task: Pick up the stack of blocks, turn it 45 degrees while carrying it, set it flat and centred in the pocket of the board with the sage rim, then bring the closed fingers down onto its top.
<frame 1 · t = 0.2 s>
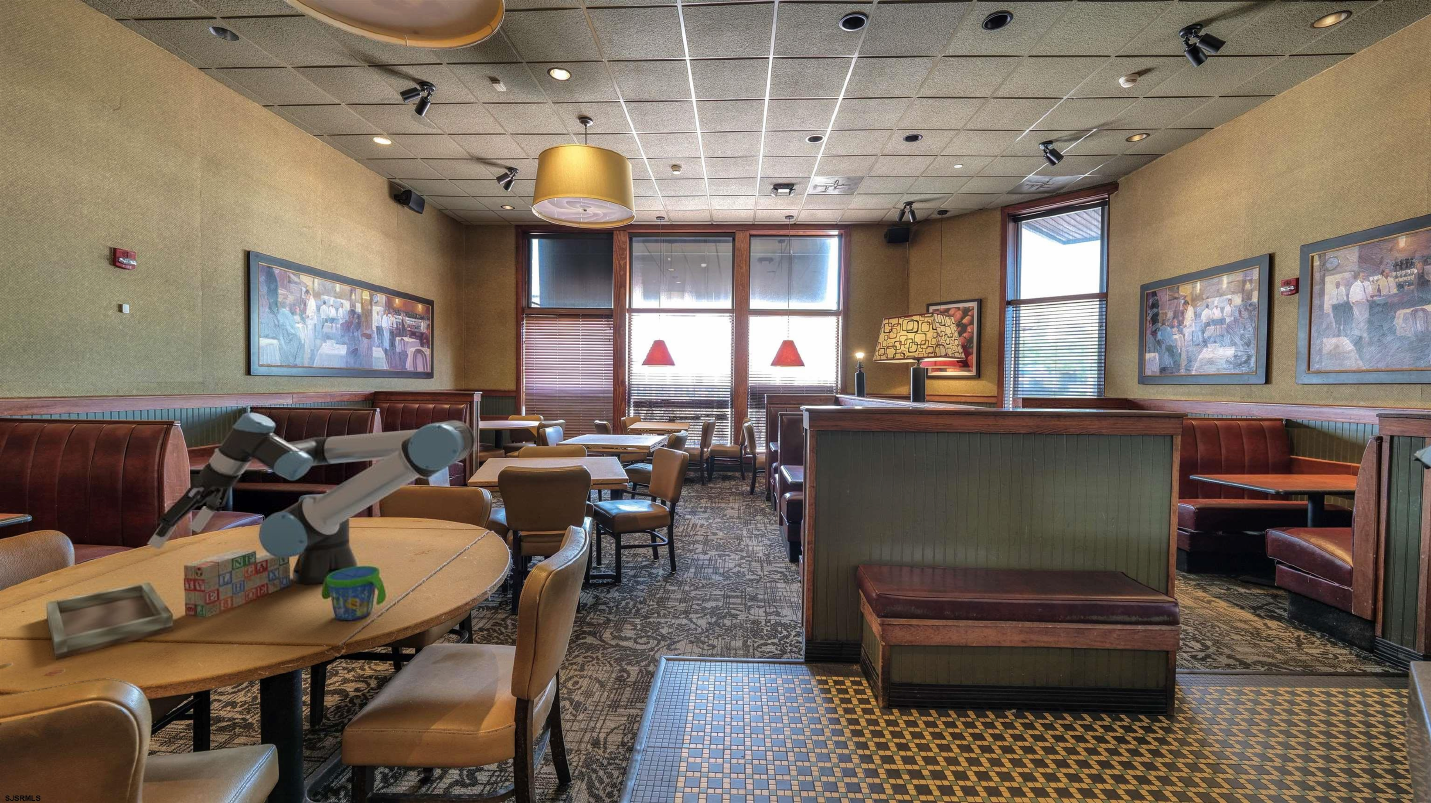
hand: (175, 537, 145), 15 cm above the table, tool tilted 35°, fingers open, 13 cm apart
stack of blocks: (241, 600, 144), on the table
snack cup: (354, 616, 135), on the table
pocket board: (108, 624, 129), on the table
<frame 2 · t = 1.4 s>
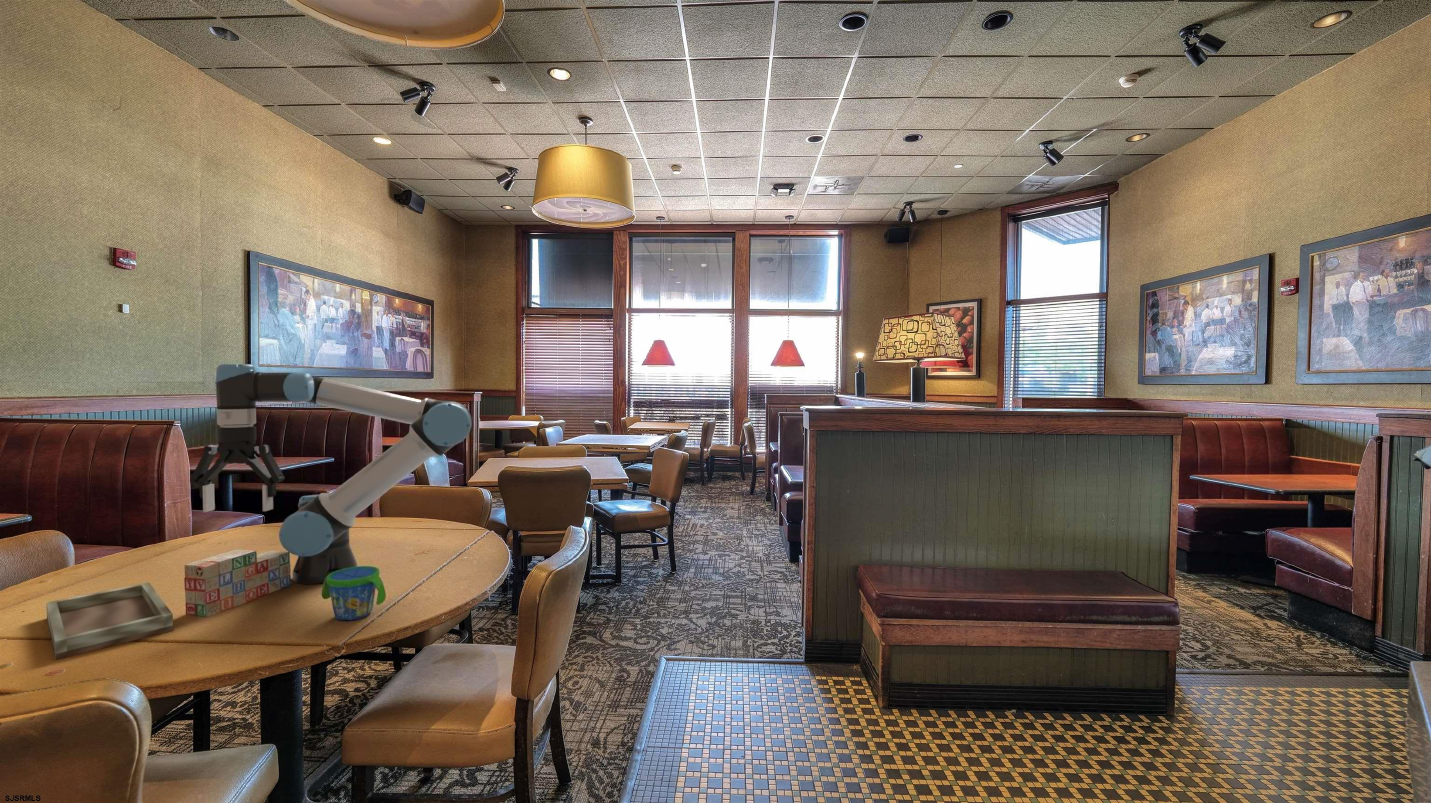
hand: (238, 510, 143), 23 cm above the table, tool pointing down, fingers open, 13 cm apart
nothing on the table moved.
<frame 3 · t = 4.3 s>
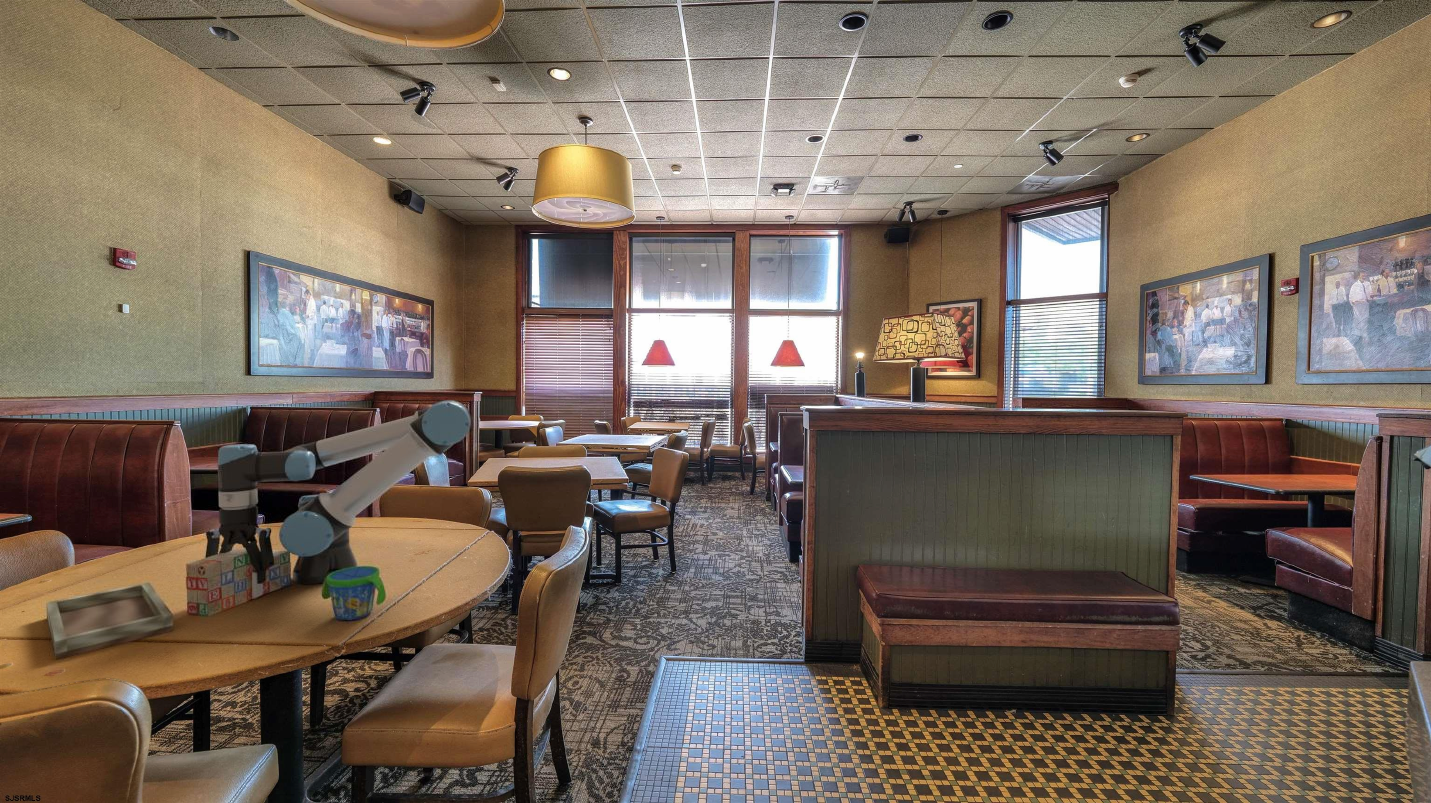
hand: (240, 596, 144), 1 cm above the table, tool pointing down, fingers closed on stack of blocks, 7 cm apart
stack of blocks: (242, 599, 145), on the table, touching gripper
everything else where it was.
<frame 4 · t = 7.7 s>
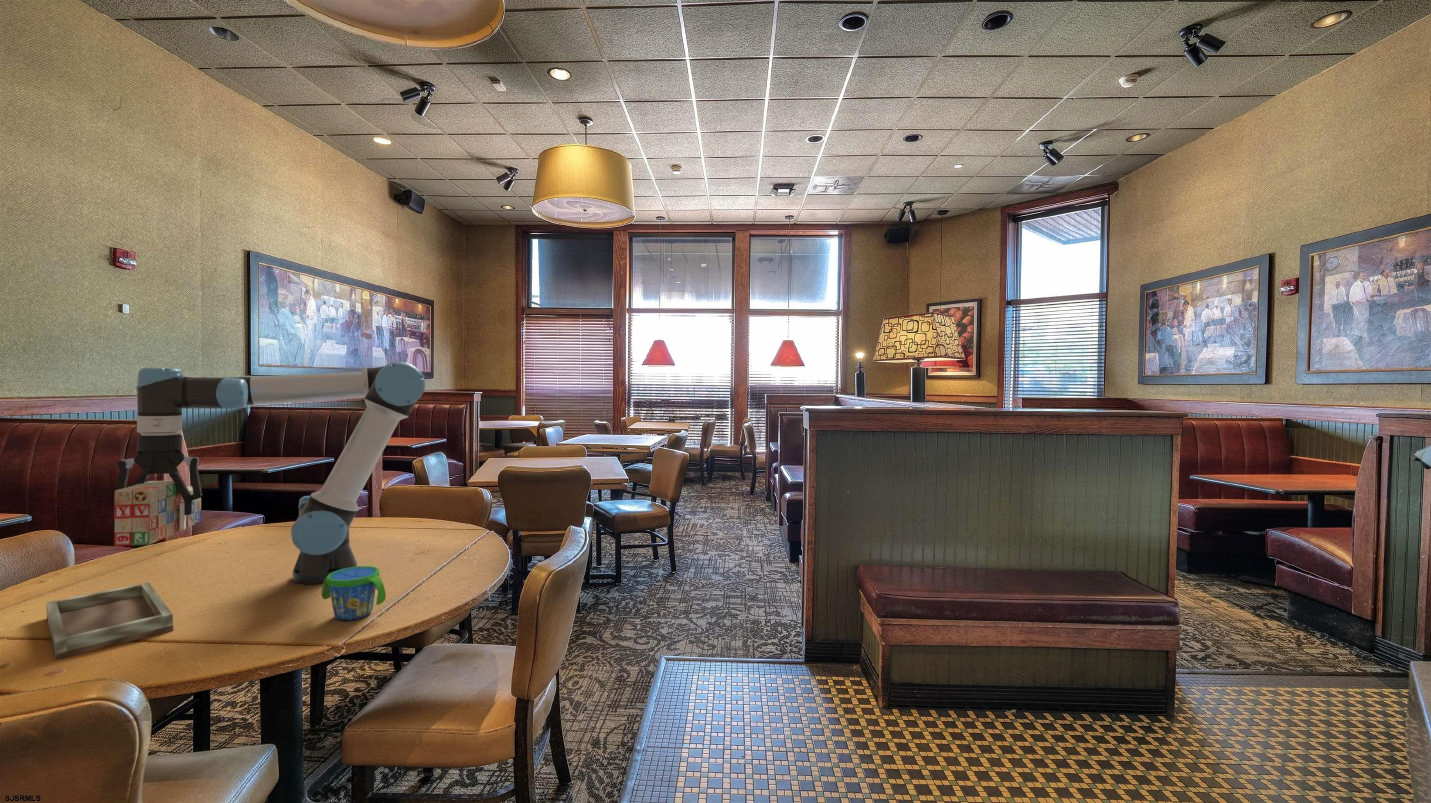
hand: (159, 530, 134), 20 cm above the table, tool pointing down, fingers closed on stack of blocks, 7 cm apart
stack of blocks: (161, 534, 135), point 19 cm above the table, touching gripper
everything else where it was.
when the fingers open (4 cm above the table, at t = 11.1 s): stack of blocks drops 2 cm, resting on pocket board.
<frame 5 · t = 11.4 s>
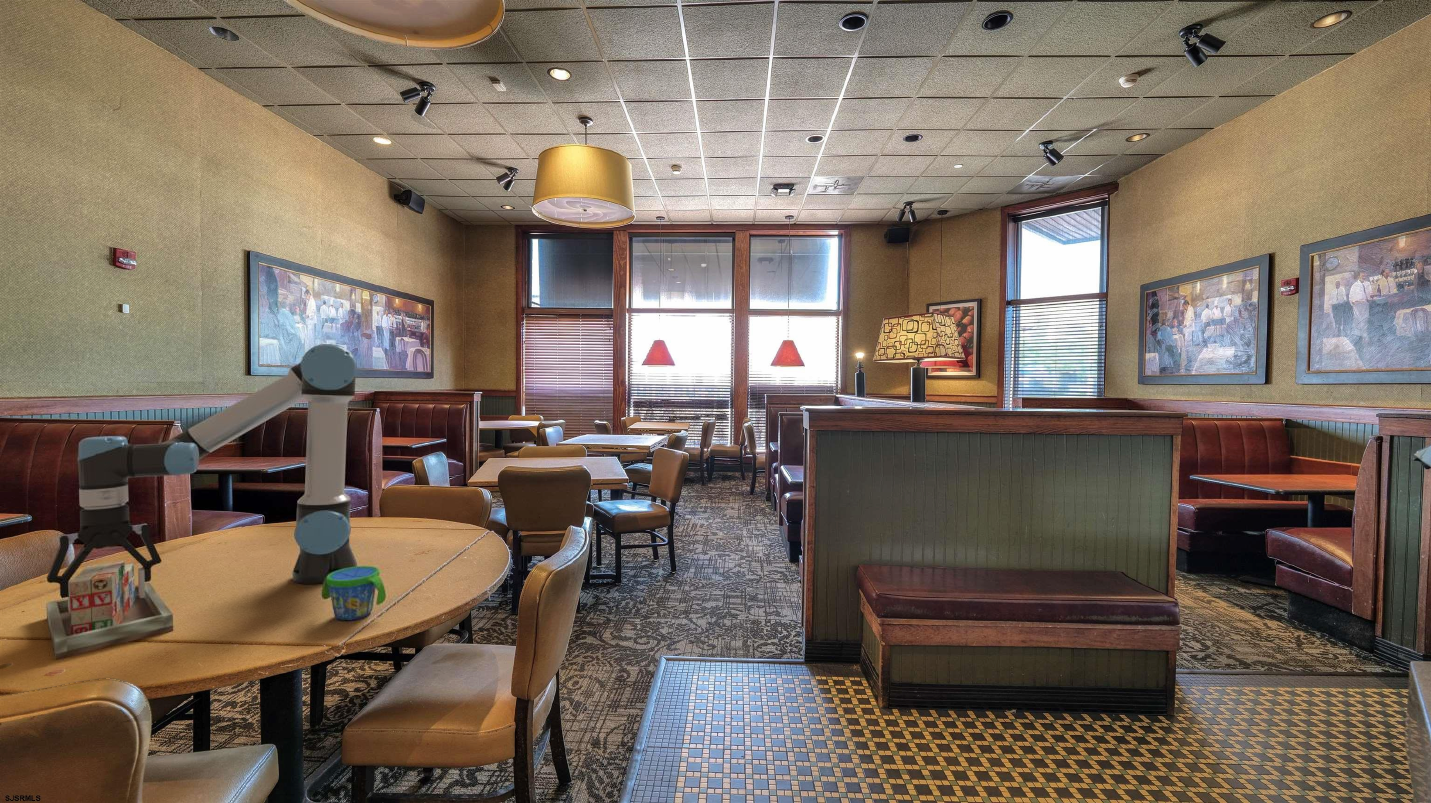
hand: (107, 603, 129), 5 cm above the table, tool pointing down, fingers open, 10 cm apart
stack of blocks: (106, 619, 129), point 1 cm above the table, touching pocket board
everything else where it was.
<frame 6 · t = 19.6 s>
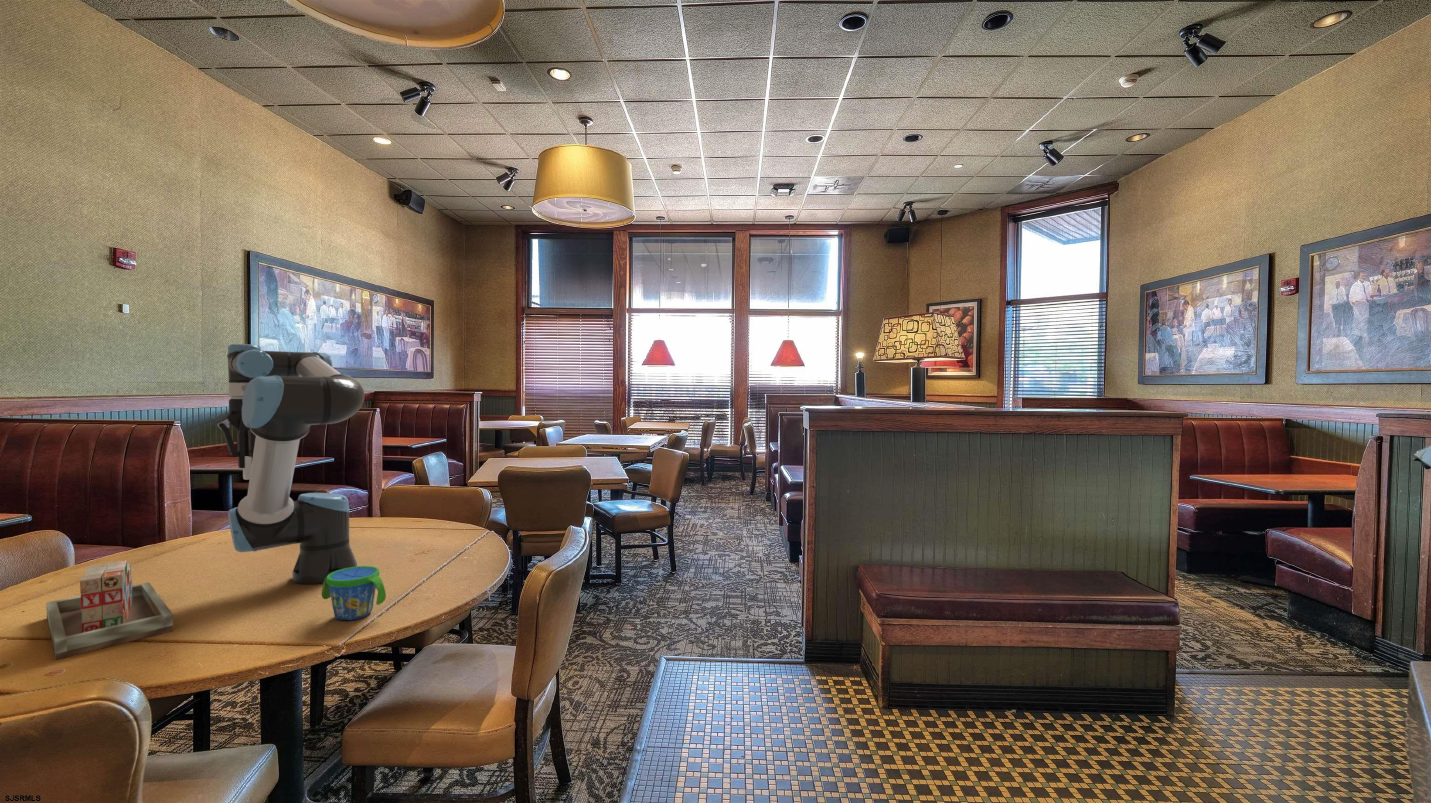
hand: (247, 478, 166), 26 cm above the table, tool pointing down, fingers closed
at the end: stack of blocks 0.9 cm off-centre on the pocket board, point 1.0 cm above the pocket board's base; stack of blocks tilted 0°; the gripper is holding nothing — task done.
